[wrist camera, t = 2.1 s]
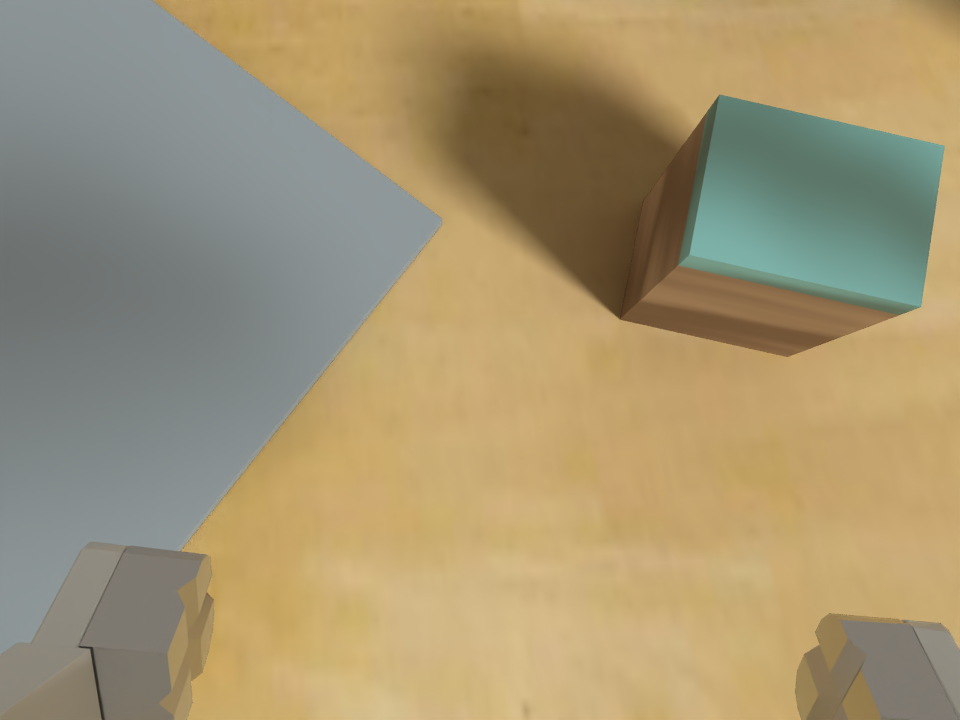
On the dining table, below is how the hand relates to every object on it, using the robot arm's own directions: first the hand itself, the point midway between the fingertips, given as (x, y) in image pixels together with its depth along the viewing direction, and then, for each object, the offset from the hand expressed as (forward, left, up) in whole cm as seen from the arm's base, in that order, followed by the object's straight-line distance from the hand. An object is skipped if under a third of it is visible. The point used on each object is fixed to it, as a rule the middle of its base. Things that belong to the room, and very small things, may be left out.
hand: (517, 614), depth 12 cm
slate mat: (+17, +2, -16) cm, 23 cm away
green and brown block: (-1, -11, -16) cm, 19 cm away
